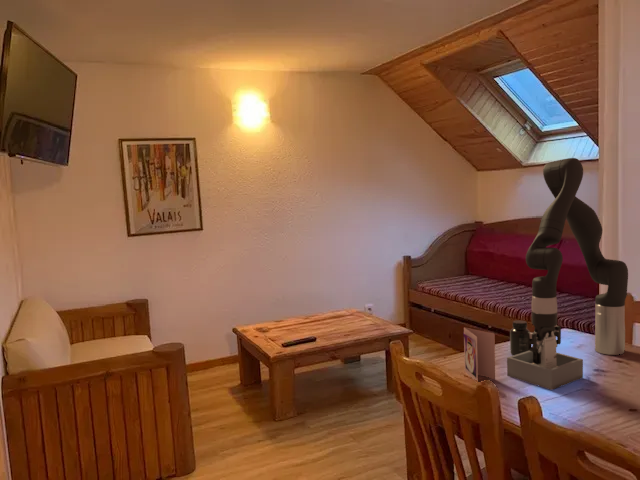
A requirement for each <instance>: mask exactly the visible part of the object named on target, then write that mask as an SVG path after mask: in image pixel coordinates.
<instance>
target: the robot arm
mask: <svg viewBox="0 0 640 480" xmlns="http://www.w3.org/2000/svg"><path fill="white" fill-rule="evenodd" d="M542 173H543V178H544V181H545V184H546V186H547V188H548V189H549V191H550V193H551V194H552V196H553V197H554V200H553V201H552V202H551V203H550V205H549V206H548V207H547V209H546V210H545V211H544V213H543V214H542V216H541V220H540V224H539V226H538V231H537V234H536V236H535V238H534V239H533V242H531V245H530V246H529V247H528V248H527V251H526V254H525V263H526V265H527V267H529V269H533V270H539V271H540V270H542V271H547V273H546V275H544V276H543V275H542V276H536V277H534V278H533V279H532V283H531V284H532V285H531V286H532V287H531V288H532V289H531V290H532V291H531V294H532V296H531V324H532V326H533V327H534V330H533V331H532V332H531V331H530V332H528V333H527V339H528V350H529V351H532V352H533V362H534V363H535V364H540V363H541V353H540V351H541V348H542V347H543V346H544V340H545V339H547V338H548V337H555V336H556V348H558V345H560V344H561V342H562V339H561V338H562V337H561V336H562V327H561V325H558V299H557V282H558V278H559V275H560V270H561V268H562V264H563V260H564V259H563V254H562V252H561V250H560V249H559V248H556V247H549V246H553V245H557V244H559V243H560V242H561V240H562V237H563V233H564V228H565V223H566V222H567V224H568V226H569V229H570V230H571V233H572V235H573V236H574V239H575V240H576V241H577V245H578V247H579V248H580V251H581V253H582V255H583V258H584V259H583V260H584V261H585V264H586V267H587V270H588V272H589V273H588V274H589V275H590V277H591V279H592V280H593V282H594V283H596V284H599V285H604V286H607V290H606V292H605V293H601V294H600V293H599V294H597V295H596V296H595V299H594V301H595V303H594V304H595V320H594V321H595V324H594V325H595V327H594V330H595V331H594V335H595V339H594V341H595V342H594V345H595V346H594V347H595V348H594V350H595V351H596V352H597V353H599V354H602V355H603V354H604V355H609V356H615V355H616V356H619V354H620V355H623V354H624V353H625V351H624V350H626V346H625V345H626V324H625V320H626V319H625V317H626V316H625V312H626V311H625V309H626V307H625V306H626V299H627V295H628V282H629V269H628V265H627V264H626V262H624V261H622V260H617V259H608V258H605V256H604V255H603V254H602V251H601V248H600V244H601V243H600V242H601V239H602V235H603V226H602V223H601V221H600V219H599V217H598V215H597V213H596V211H595V210H594V209H593V208H592V207H591V206H590V205H588V204H587V203H585V202H584V201H583V200H581V199H580V198H578V197H577V196H576V195H577V193H578V190H579V189H580V187H581V184H582V180H583V177H584V167H583V163H582V162H581V160H579V159H578V158H576V157H569V158H564V159H557V160H554V161H550V162H549V161H548V162H547V163H546V164H544V166H543V170H542ZM537 340H538V341H541V342H540V343H539V342H537ZM537 345H539V346H538V349H537Z"/></svg>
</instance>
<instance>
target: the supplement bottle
mask: <svg viewBox="0 0 640 480" xmlns="http://www.w3.org/2000/svg"><path fill="white" fill-rule="evenodd" d="M528 332H531V331H530V330H529V329H528V323H527V321H525V320H520V319H519V320H513V321H512V328H511V329H510V331H509V344H510V345H509V346H510V347H509V348H510V350H509V352H510V354H511V356H514V355H517V354H520V353H523V352H526V351H529V350H528V339H527V333H528Z"/></svg>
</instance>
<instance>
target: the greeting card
mask: <svg viewBox="0 0 640 480" xmlns="http://www.w3.org/2000/svg"><path fill="white" fill-rule="evenodd" d="M462 335H463V346H464V348H463V350H464V351H463V352H464V354H463V355H464V356H463V357H464V372H465V373H466V374H467V375H468V376H469V377H470V378H471V377H472V378H471V379H472V380H474V379H475V380H477V381H478V382H479V379H478V378H479V376H480V375H482V376H481V377H484V376H486V377H485V378H488V377H489V378H488V379H491V380H492V379H493V380H496V349H495V347H496V345H495V344H496V343H495V340H496V339H495V338H496V337H495V336H496V335H495V333H494V332H489V331H483V330H479V329H474V328H469V327H463V333H462ZM475 380H474V381H475Z"/></svg>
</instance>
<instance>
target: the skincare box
mask: <svg viewBox="0 0 640 480" xmlns="http://www.w3.org/2000/svg"><path fill="white" fill-rule="evenodd" d="M556 340H557V337H556V336H555V337H548V338H547V339H545V340H544V346H543V347H542V348H541V351H540V353H541V363H540V364H535V363H534V364H535V365H539V366H542V367H545V368H549V369H552V368H555V367H557V361H556V353H557V347H556ZM537 342H539V343H540V342H541V341H538V340H537ZM538 346H539V345H537V349H538Z"/></svg>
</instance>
